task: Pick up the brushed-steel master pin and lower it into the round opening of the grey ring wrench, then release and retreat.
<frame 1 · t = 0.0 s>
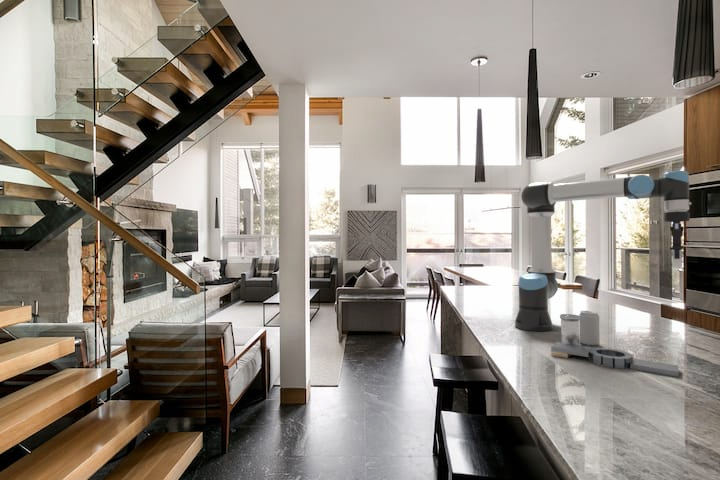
hand: (677, 266, 147), 28 cm above the kitchen island, fingers open, 13 cm apart
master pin: (570, 349, 135), on the kitchen island
beverage can: (589, 344, 142), on the kitchen island
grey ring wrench: (610, 362, 121), on the kitchen island
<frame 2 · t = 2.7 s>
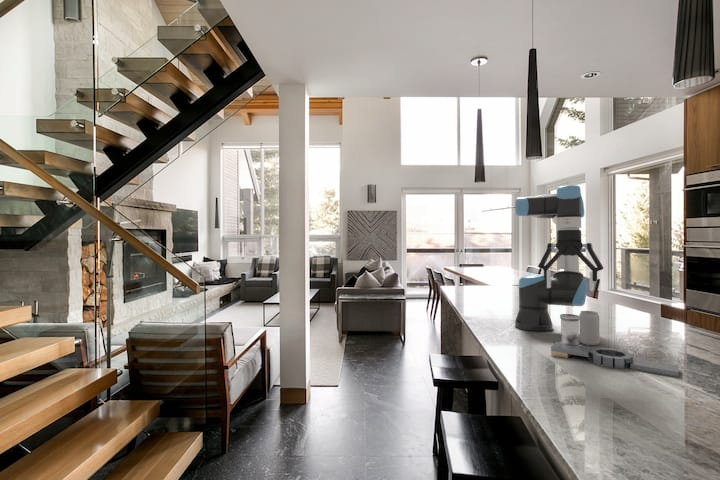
hand: (569, 289, 135), 21 cm above the kitchen island, fingers open, 13 cm apart
nothing on the kitchen island moved.
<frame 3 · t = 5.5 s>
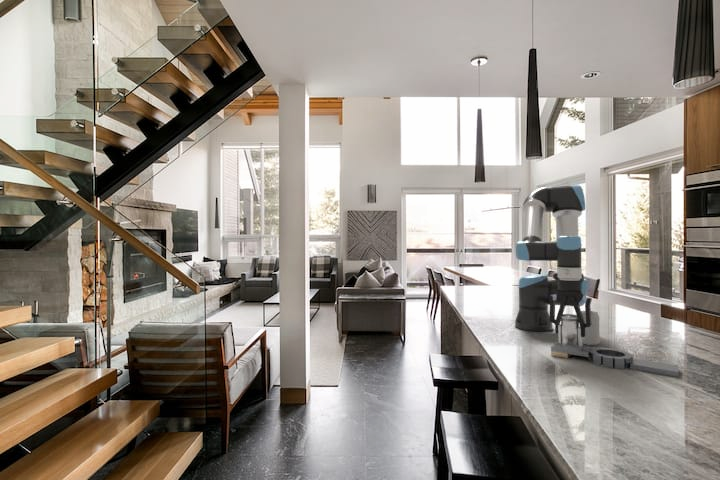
hand: (570, 344, 135), 2 cm above the kitchen island, fingers closed on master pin, 5 cm apart
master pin: (570, 349, 135), on the kitchen island, touching gripper
everything else where it was.
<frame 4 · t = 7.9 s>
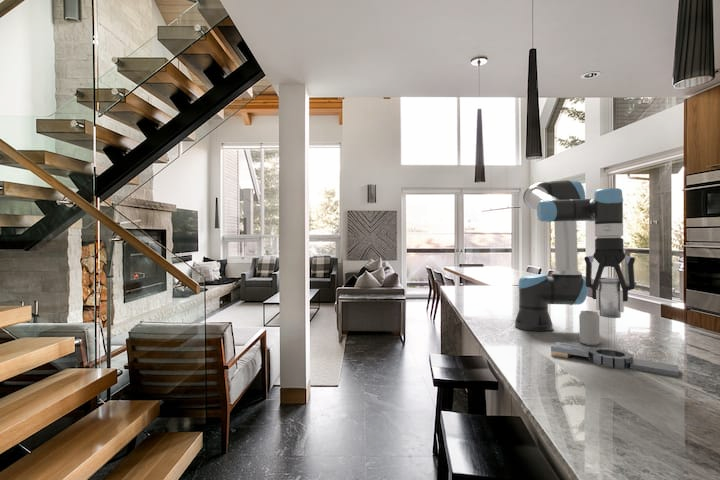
hand: (610, 310, 120), 17 cm above the kitchen island, fingers closed on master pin, 5 cm apart
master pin: (610, 316, 120), point 15 cm above the kitchen island, touching gripper
everything else where it was.
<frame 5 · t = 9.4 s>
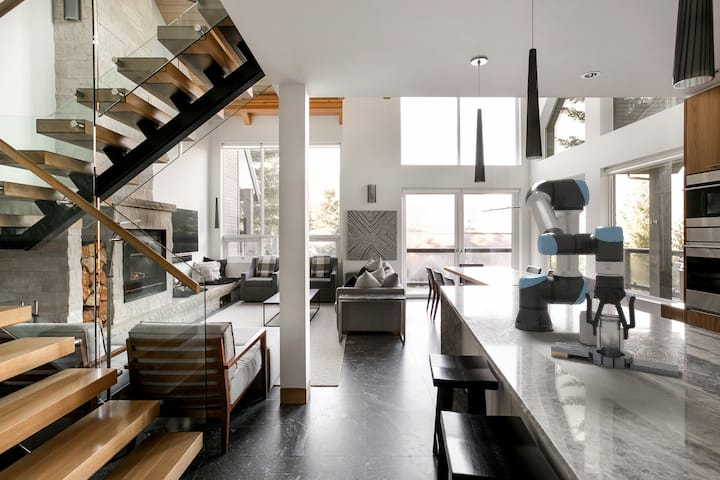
hand: (610, 347, 120), 5 cm above the kitchen island, fingers closed on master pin, 5 cm apart
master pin: (610, 353, 120), point 3 cm above the kitchen island, touching gripper
everything else where it was.
when the fingers open (4 cm above the kitchen island, at t = 10.5 s): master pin drops 2 cm, resting in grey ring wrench.
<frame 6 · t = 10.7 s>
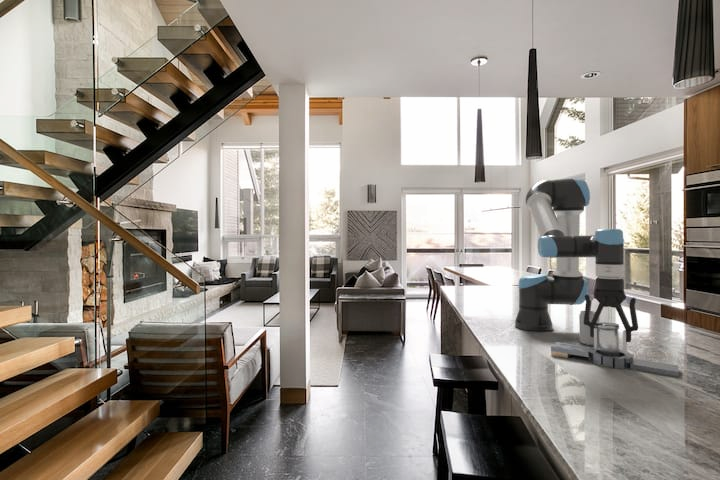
hand: (610, 349, 121), 4 cm above the kitchen island, fingers open, 7 cm apart
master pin: (609, 362, 121), resting in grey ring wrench, touching gripper
everything else where it was.
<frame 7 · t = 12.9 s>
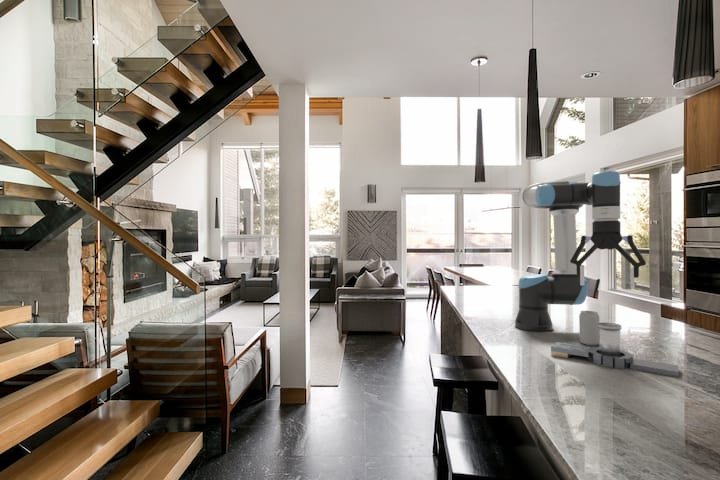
hand: (606, 286, 122), 24 cm above the kitchen island, fingers open, 13 cm apart
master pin: (609, 362, 121), resting in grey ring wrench
everything else where it was.
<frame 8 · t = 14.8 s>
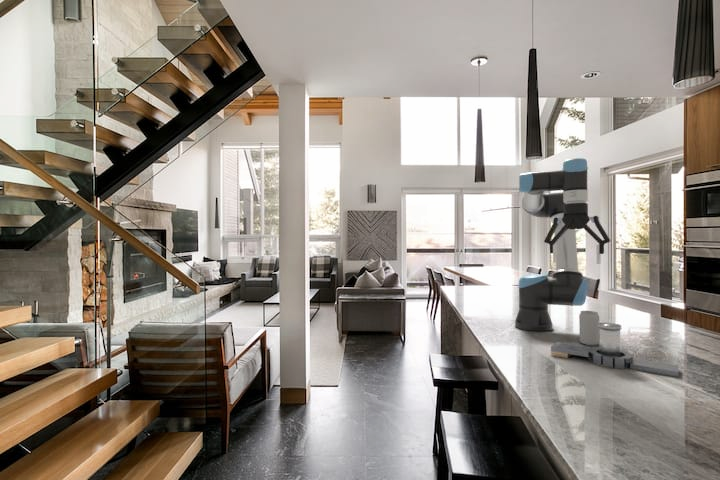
hand: (576, 263, 134), 31 cm above the kitchen island, fingers open, 13 cm apart
nothing on the kitchen island moved.
at the end: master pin 0.2 cm off-centre on the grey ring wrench, point 0.0 cm above the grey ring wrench's base; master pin tilted 0°; the gripper is holding nothing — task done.
